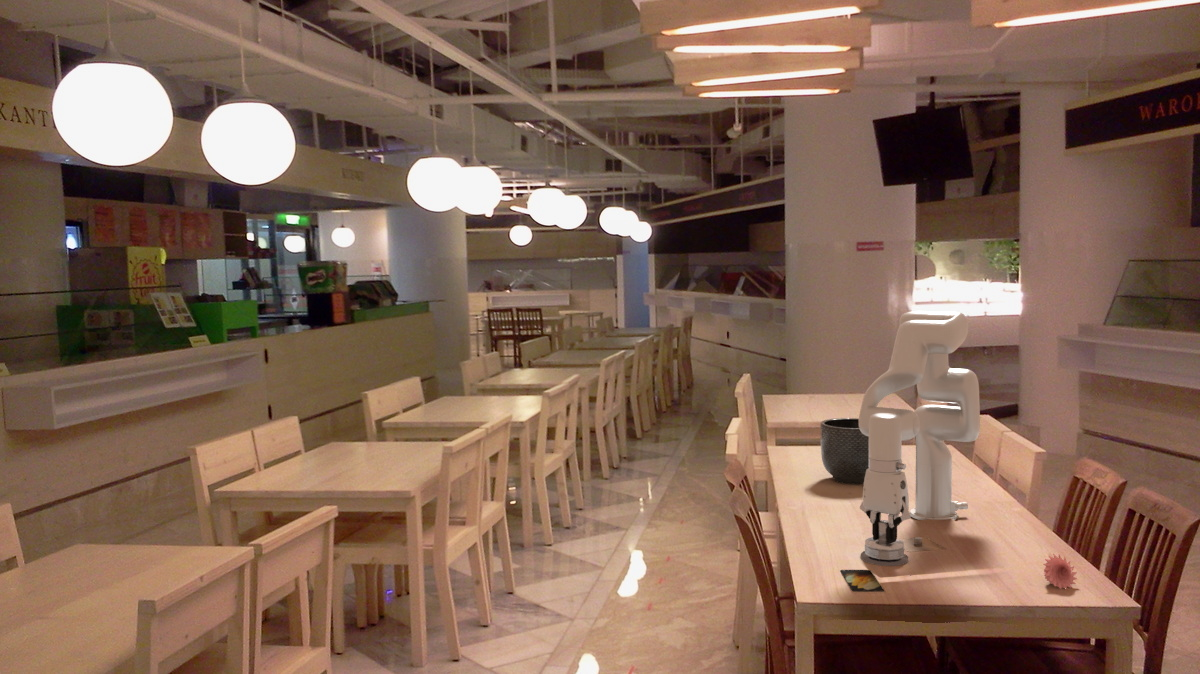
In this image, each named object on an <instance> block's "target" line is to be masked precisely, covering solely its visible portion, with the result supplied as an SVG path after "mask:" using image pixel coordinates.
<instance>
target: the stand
mask: <svg viewBox="0 0 1200 674" xmlns="http://www.w3.org/2000/svg"><path fill="white" fill-rule="evenodd" d="M899 540H901V541H903V542H904V551H907V552H909V553H914V552H915V553H917V552H928V551H929V552H930V551H942V550H947V548H946V547H944V546H942V545H940V544H939V543H937V542H936V541H934V540H932V539H930V538H928V537H927V536H925V537H924V536H923V537H921V536H920V537H919V536H914V537H913V538H912V537H911V538H899Z"/></svg>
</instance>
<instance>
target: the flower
mask: <svg viewBox="0 0 1200 674" xmlns="http://www.w3.org/2000/svg"><path fill="white" fill-rule="evenodd" d="M1052 555H1053V556H1050V555H1048V558H1049V559H1048V558H1047V559H1046V558H1045V559H1044V560H1045V561H1046V563H1043V567H1044V568H1043V576H1044V579H1045V580H1046V581H1047V582H1048V583H1049V584H1050V585H1053V586H1054V587H1058V588H1059V589H1060V590H1063V589H1064V588H1067V589H1068V588H1071V589H1072V588H1073V586H1072V585H1076V582H1075V581H1076V580H1077V579H1078V578H1077V577H1075V575H1076V574H1077V571H1073V570H1074V569H1075V566H1074V565H1073V566H1071V560H1069V561H1067V558H1066V556H1064V557H1062V556H1061V554H1058V556H1056V555H1055V553H1053V554H1052Z"/></svg>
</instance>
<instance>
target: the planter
mask: <svg viewBox="0 0 1200 674" xmlns="http://www.w3.org/2000/svg"><path fill="white" fill-rule="evenodd" d="M819 430H820V431H819V432H820V434H819V437H820V439H819V440H820V452H821V453H820V454H821V455H820V456H821V461H822V465H823V467H824V469H825V471H827V473H829V475H831V477H832V478H833V480H834V481H835V482H837V483H839V484H845V485H862V484H863V485H864V479H865V474H866V470H867V469H869V437H868V436H865V435H864V434H862V433H861V431H860V429H859V417H858V418H857V417H855V418H854V417H852V418H851V417H840V418H838V417H837V418H829V419H825V420H822V421H821V422H820V424H819Z"/></svg>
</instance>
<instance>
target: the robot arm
mask: <svg viewBox="0 0 1200 674" xmlns="http://www.w3.org/2000/svg"><path fill="white" fill-rule="evenodd" d="M898 323H899V327H898V328H897V331H896V336H895V340H894V344H893V349H892V353H891V359H890V362H889V366H888V370H886V371H885V372H884V373H882V374H881V375H880V376H879V377H877V378H876V379H875V380H874V381H873V382H872V383H871V384H870V386H868V388H867V389H866V391H865V393H864V396H863V398H862V402H861V406H860V411H859V415H858V419H859V429H860V431H861V433H862V434H864V435H865V436H868V437H869V469H867V470H866V474H865V479H864V483H863V488H862V501H861V503H860V506H859V509H860V511H862V513H864V514H866V516H867V518H868V519H869V522H870V523H871V525H872V526H871V527H872V530H871V531H872V537H873V540H878V521H880V520H882V519H881V518H882V514H885V515H887V518H888V520H887V521H889V527H887V543H888V544H891V543H893V542H895V541H896V539H898V526H900V524H902V522H904V521H906V520H909V519H911V517H912V519H915V520H919V521H926V520H935V521H938V520H939V521H940V520H941V521H943V520H953V521H956V520H957V519H958V513H957V512H956V511H958V510H968V508H969V505H968V503H967V502H966V501H964V502H959V501H957V500H956V501H955V500H952V491H953V490H952V488H953V486H952V483H953V481H952V479H953V478H952V477H953V475H952V474H953V467H952V465H953V456H952V453H951V450H950V449H949V447H948V445H947V444H946V443H945V442H944V441H952V442H961V443H962V442H963V443H971V442H974V441H976V440H977V439H978V437H979V435H980V432H981V431H980V430H981V413H980V412H981V407H980V406H981V405H980V404H981V403H980V385H979V384H980V383H979V378H978V376H977V374H976V373H975V372H974V371H973V370H971V369H968V368H958V367H957V368H953V367H950V365H949V363H950V362H949V354H952V353H954V352H955V351H956V350H958V348H959V347H960V346H962V344H963V343H964V342H965V341H966V339H967V337H968V334H969V321H968V318H967V316H966V315H965V314H963V312H958V311H933V310H932V311H927V310H915V311H907V312H904V313H902V315H901V316H900V317H899V322H898ZM915 385H916V389H917V395H918V397H919V398H920V399H921V400H923V401H927V402H934V403H943V404H944V403H945V404H957V405H958V406H955V405H943V404H942V405H941V404H924V405H920V406H918V407H917V408H916V409H914V411H913V410H911V409H906V408H905V409H904V408H894V407H882V406H878V405H879V404H880V402H881V401H882V400H883V399H884V398H886V397H887V396H889V395H891V394H894V393H896V392H899V391H901V390H904V389H907V388H911V387H914V386H915ZM912 439H915V440H914V441H915V501H914V502H915V505H914V506H915V507H913V508H911V509H910V510H909V508H910V503H909V502H910V501H909V488H908V482H907V476H906V473H905V472H904V471H903V470H906V468H907V465H906V464H905V463H903V459H902V449H903V448H902V442H903V441H904V442H905V441H911V440H912ZM900 514H901V515H900Z"/></svg>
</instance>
